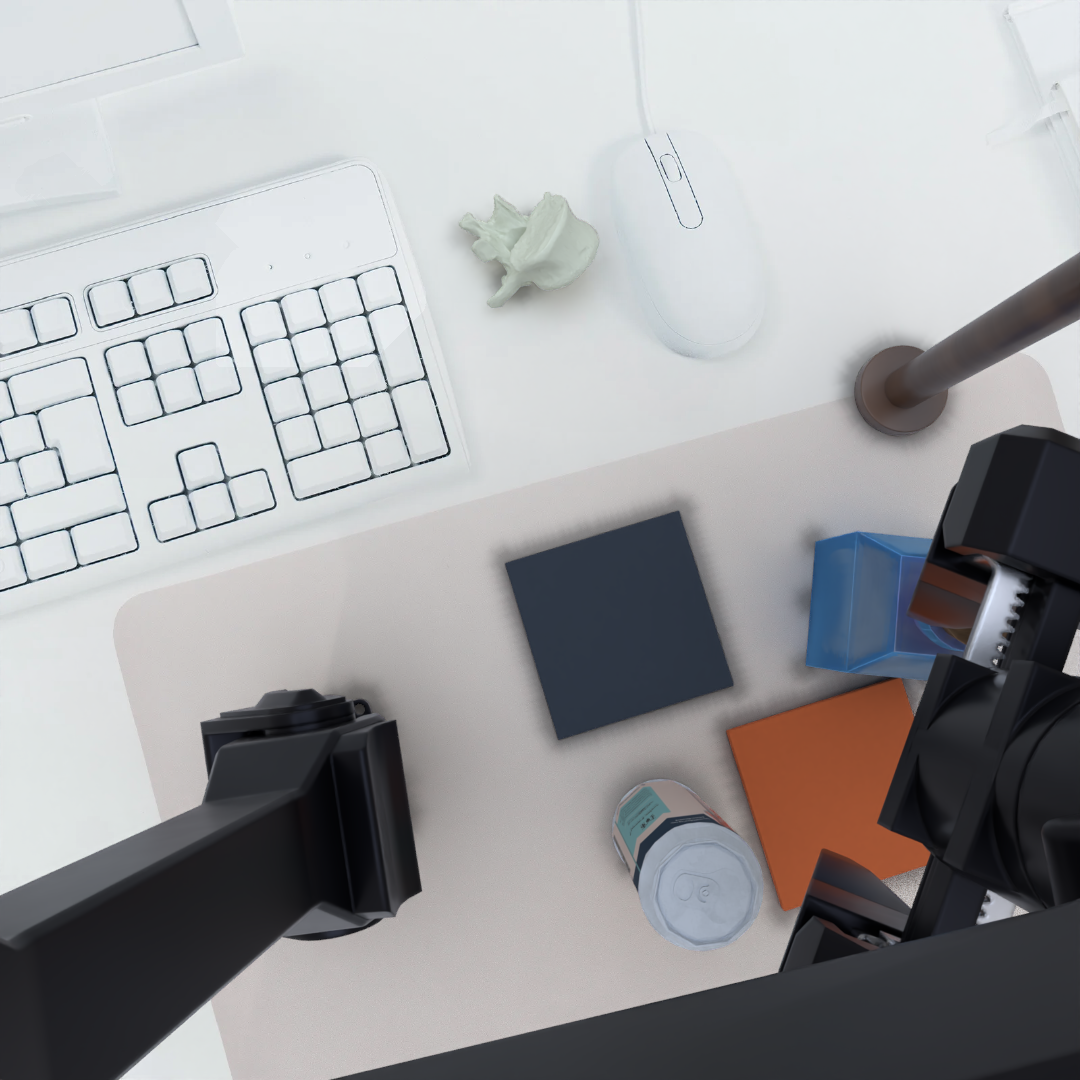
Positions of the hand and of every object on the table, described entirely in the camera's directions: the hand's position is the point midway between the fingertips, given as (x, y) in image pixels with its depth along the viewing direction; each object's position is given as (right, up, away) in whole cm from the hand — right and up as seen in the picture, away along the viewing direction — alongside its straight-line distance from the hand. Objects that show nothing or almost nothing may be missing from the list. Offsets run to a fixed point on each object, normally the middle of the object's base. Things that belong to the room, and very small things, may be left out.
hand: (877, 735), depth 37 cm
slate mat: (-8, +3, +14) cm, 16 cm away
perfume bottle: (+4, +4, +14) cm, 15 cm away
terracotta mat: (+3, -5, +14) cm, 15 cm away
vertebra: (-14, +22, +11) cm, 29 cm away
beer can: (-6, -7, +13) cm, 16 cm away
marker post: (+6, +14, +15) cm, 22 cm away
